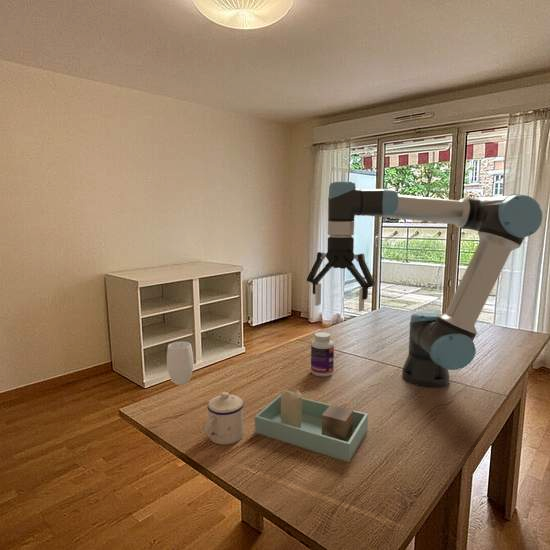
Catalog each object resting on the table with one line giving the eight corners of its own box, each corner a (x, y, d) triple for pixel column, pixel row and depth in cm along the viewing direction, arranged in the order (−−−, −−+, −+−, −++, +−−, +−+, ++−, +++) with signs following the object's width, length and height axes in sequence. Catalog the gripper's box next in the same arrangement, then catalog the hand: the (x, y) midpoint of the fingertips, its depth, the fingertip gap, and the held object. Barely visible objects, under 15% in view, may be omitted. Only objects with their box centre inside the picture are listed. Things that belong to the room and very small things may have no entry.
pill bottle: (332, 378, 134) (333, 338, 132) (309, 376, 135) (310, 337, 133) (333, 369, 142) (334, 331, 139) (312, 367, 143) (312, 330, 141)
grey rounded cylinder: (182, 424, 105) (179, 351, 102) (163, 416, 109) (160, 346, 106) (200, 412, 111) (198, 343, 108) (182, 406, 115) (179, 339, 112)
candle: (287, 432, 100) (287, 396, 98) (277, 422, 105) (277, 387, 103) (305, 427, 102) (305, 391, 101) (294, 417, 107) (295, 383, 106)
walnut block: (352, 435, 99) (353, 410, 97) (344, 448, 93) (345, 421, 92) (330, 429, 101) (330, 404, 100) (321, 441, 96) (321, 414, 95)
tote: (367, 431, 101) (368, 413, 101) (349, 464, 88) (349, 444, 87) (282, 408, 113) (282, 392, 113) (255, 434, 100) (254, 416, 100)
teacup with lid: (224, 422, 106) (223, 382, 104) (250, 432, 101) (250, 390, 99) (192, 444, 96) (190, 400, 94) (220, 456, 91) (219, 410, 89)
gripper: (387, 236, 110) (384, 309, 113) (306, 234, 122) (306, 300, 125) (380, 238, 103) (377, 315, 107) (296, 235, 115) (296, 305, 119)
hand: (339, 307), depth 116 cm, fingers open, 13 cm apart
